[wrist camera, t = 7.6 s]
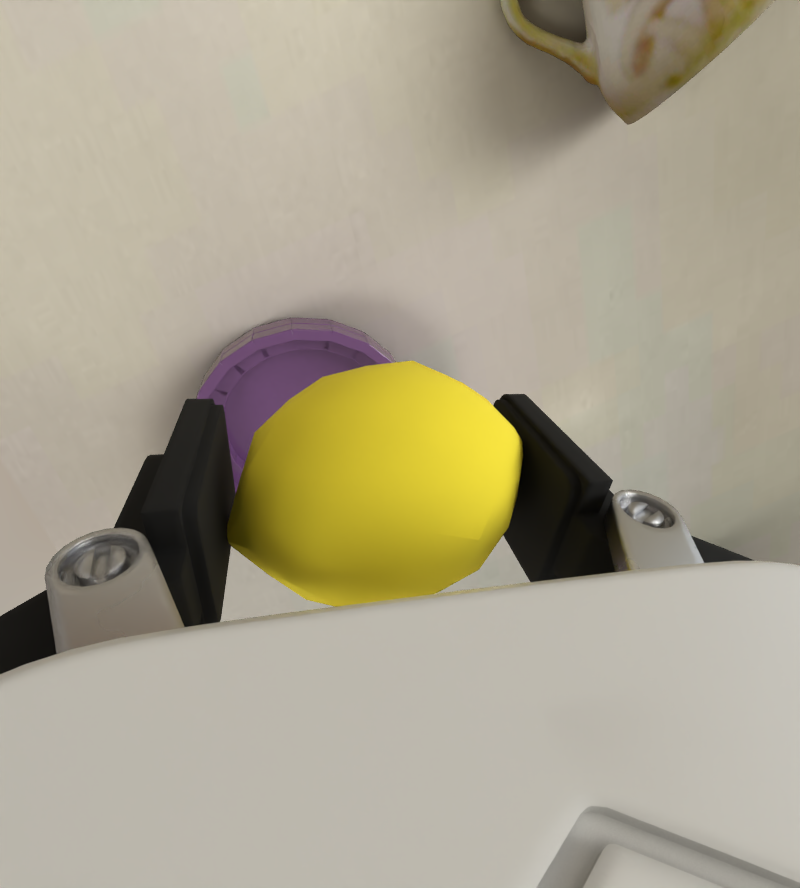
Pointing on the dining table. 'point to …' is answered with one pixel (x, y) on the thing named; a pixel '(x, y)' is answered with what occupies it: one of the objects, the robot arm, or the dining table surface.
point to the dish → (280, 372)
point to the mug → (642, 45)
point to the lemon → (377, 486)
